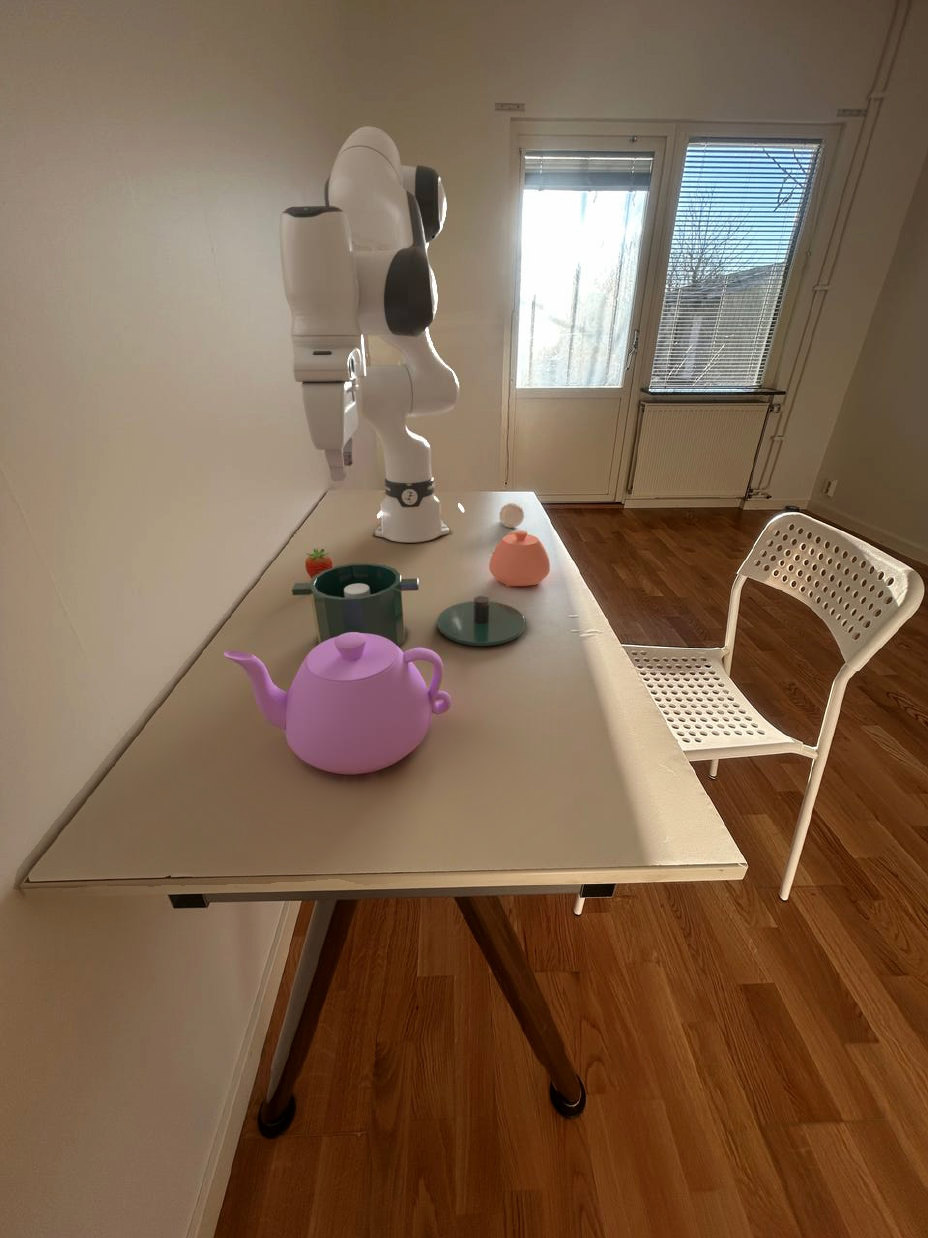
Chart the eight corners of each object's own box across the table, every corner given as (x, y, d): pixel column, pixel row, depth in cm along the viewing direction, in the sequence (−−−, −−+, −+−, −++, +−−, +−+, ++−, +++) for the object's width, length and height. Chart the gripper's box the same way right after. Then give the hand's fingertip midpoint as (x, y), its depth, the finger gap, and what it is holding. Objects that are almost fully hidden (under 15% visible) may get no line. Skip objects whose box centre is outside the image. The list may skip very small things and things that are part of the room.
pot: (310, 620, 91) (301, 565, 86) (420, 615, 92) (417, 560, 87) (294, 663, 78) (282, 602, 73) (421, 657, 80) (418, 596, 75)
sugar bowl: (496, 594, 100) (497, 543, 95) (482, 566, 112) (483, 521, 107) (556, 589, 101) (561, 540, 97) (536, 563, 114) (539, 518, 109)
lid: (436, 608, 95) (435, 582, 92) (516, 604, 96) (517, 579, 93) (439, 651, 81) (438, 622, 79) (532, 646, 82) (534, 618, 80)
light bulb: (514, 528, 143) (524, 530, 133) (491, 525, 142) (500, 526, 131) (518, 504, 142) (529, 504, 131) (495, 501, 141) (504, 500, 130)
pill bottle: (370, 642, 83) (365, 596, 79) (343, 639, 84) (336, 593, 80) (380, 628, 87) (376, 583, 83) (354, 626, 88) (348, 581, 84)
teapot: (440, 681, 74) (437, 595, 68) (465, 769, 59) (464, 669, 52) (259, 703, 70) (237, 614, 63) (234, 804, 54) (202, 700, 48)
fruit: (303, 587, 103) (297, 550, 99) (320, 578, 107) (314, 541, 103) (324, 592, 101) (319, 554, 97) (341, 582, 105) (336, 545, 101)
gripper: (319, 360, 75) (331, 458, 81) (288, 365, 57) (307, 490, 63) (362, 360, 75) (371, 457, 82) (346, 364, 57) (359, 488, 64)
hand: (343, 471), depth 72 cm, fingers open, 8 cm apart
